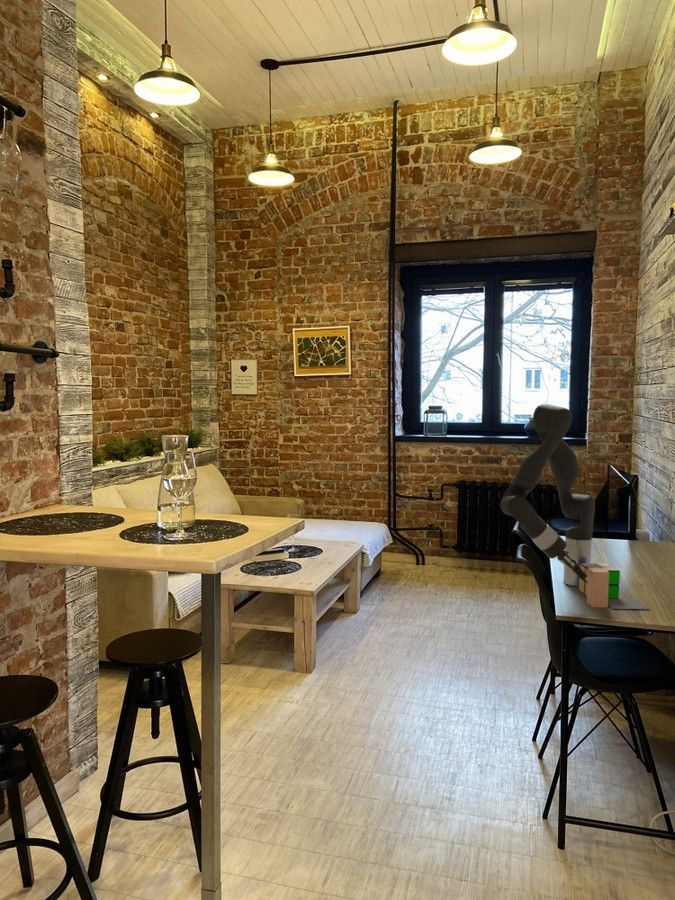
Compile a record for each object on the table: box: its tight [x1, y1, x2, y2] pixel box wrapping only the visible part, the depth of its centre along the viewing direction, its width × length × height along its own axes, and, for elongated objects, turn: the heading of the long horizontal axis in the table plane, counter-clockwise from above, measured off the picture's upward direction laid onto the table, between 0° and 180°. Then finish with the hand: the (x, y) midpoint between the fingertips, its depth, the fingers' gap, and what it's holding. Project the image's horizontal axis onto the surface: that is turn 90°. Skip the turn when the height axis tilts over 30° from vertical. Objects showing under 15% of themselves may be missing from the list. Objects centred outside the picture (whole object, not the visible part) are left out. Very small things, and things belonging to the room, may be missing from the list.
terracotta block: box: [586, 568, 609, 608], centre depth 213 cm, size 5×5×12 cm
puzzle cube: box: [578, 562, 621, 599], centre depth 224 cm, size 10×10×10 cm
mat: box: [608, 598, 651, 611], centre depth 214 cm, size 10×12×1 cm
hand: (584, 577), depth 212 cm, fingers closed
